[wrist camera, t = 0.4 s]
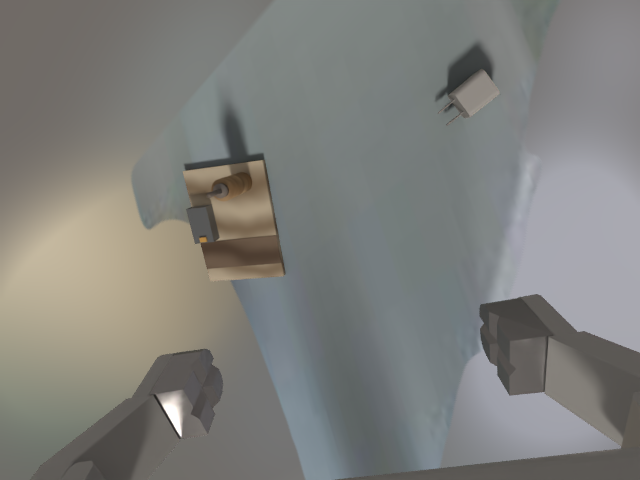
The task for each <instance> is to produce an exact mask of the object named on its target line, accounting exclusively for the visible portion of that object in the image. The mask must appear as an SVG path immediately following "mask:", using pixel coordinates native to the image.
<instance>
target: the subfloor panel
mask: <svg viewBox="0 0 640 480" xmlns="http://www.w3.org/2000/svg"><path fill="white" fill-rule="evenodd" d="M240 172H244V173H247V174H248V175H249V176H250V177H251V179H252V187H251V189H250V190H248V191H247V192H244V193H242V194H240V195H238V196H236V197H234V198H232V199H230V200H228V201H219V200H217V199H216V198H215V197H211V198H208V197H207V193H209V192H212V190H211V187H212V184H213V182H214V181H215V180H217V179H220V178H224V177H227V176H230V175H233V174H236V173H240ZM183 174H184V178H185V182H186V186H187V190H188V194H189V198H190V202H191V206H192V207H193V206H201V205H210V204H212V207H213V211H214V215H215V220H216V224H217V228H218V232H219V237H220V238H219V239H218V240H216V241H215V242H208V243H201V247H202V250H203V254H204V258H205V262H206V266H207V269H208V273H209V277H210V280H211V281H223V280H237V279H251V278H265V277H279V276H284V275H285V269H284V263H283V258H282V252H281V247H280V241H279V236H278V230H277V225H276V219H275V214H274V208H273V203H272V197H271V192H270V187H269V181H268V176H267V170H266V165H265V160H259V161H252V162H244V163H237V164H230V165H223V166H216V167H209V168H201V169H194V170H187V171H183Z"/></svg>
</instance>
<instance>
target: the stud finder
mask: <svg viewBox="0 0 640 480" xmlns="http://www.w3.org/2000/svg"><path fill="white" fill-rule="evenodd" d="M186 210H187V214H188V218H189V222H190V226H191V229H192V233H193V237H194V241H195V244H197V243H208V242H215V241H216V240H218V239H219V238H220V237H219V232H218V228H217V224H216V220H215V215H214V211H213V207H212V204H210V205H201V206H193V207H191V208H188V209H186Z"/></svg>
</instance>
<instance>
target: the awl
mask: <svg viewBox="0 0 640 480" xmlns="http://www.w3.org/2000/svg"><path fill="white" fill-rule="evenodd" d="M251 187H252V179H251V177H250V176H249V175H248V174H247V173H244V172H240V173H236V174H233V175H230V176H227V177H224V178H220V179H217V180H215V181H214V182H213V184H212V187H211V190H212V192H209V193H207V197H208V198H211V197H215V198H216V199H217V200H219V201H228V200H230V199H232V198H234V197H236V196H238V195H240V194H242V193H244V192H247V191H248V190H250V189H251Z"/></svg>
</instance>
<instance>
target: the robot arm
mask: <svg viewBox="0 0 640 480" xmlns="http://www.w3.org/2000/svg"><path fill="white" fill-rule="evenodd" d="M480 318H481V319H482V321H483V322H484V324H483V326H482V327H481V328H480V334H481V341H482V345H483V349H484V351H485V353H486V356H487V357H488V359H489V361H490V362H491V363H492V364H494V365H496V366H497V370H498V371H497V372H498V377H499V378H500V380H501V382H502V384H503V385H504V387H505V389H506V390H507V392H508V394H509V395H519V394H528V393H538V392H545V394H546V395H548V396H549V397H550V398H552V399H553V400H555V401H556V402H558V403H559V404H561V405H562V406H563V407H565V408H567V409H568V410H570V411H571V412H572V413H574V414H575V415H577V416H578V417H579V418H581V419H583V420H584V421H585V422H587V423H588V424H590V425H591V426H593V427H594V428H595V429H597V430H598V431H600V432H601V433H603V434H604V435H606V436H607V437H609V438H610V439H611V440H613V441H614V442H616V443H617V444H619V445H620V446H621V449H614V450H604V451H595V452H586V453H576V454H567V455H558V456H548V457H539V458H530V459H521V460H511V461H502V462H493V463H485V464H475V465H465V466H457V467H447V468H438V469H429V470H420V471H410V472H401V473H392V474H383V475H374V476H365V477H355V478H346V479H337V480H640V353H639V352H636V351H634V350H631V349H629V348H626V347H623V346H621V345H618V344H615V343H613V342H610V341H608V340H605V339H603V338H600V337H598V336H595V335H592V334H590V333H587V332H585V331H583V332H577V331H576V330H575V329H574V328H573V327H572V326H571V325H570V324H569V323H568V322H567V321H566V320H565V319H564V318H563V317H562V316H561V315H560V314H559V313H558V312H557V311H556V310H555V309H554V308H553V307H552V306H551V305H550V304H549V303H548V302H547V301H546V300H545V299H544V298H543V297H541V296H540V295H538V294H535V295H530V296H524V297H519V298H517V299H510V300H504V301H498V302H492V303H486V304H481V305H480ZM213 359H214V358H213V356H212V354H211V352H210V350H207V349H200V350H194V351H186V352H179V353H173V354H166V355H162V356H160V357H158V358H157V359H156V360H155V362H154V364H153V365H152V367H151V368H150V370H149V371H148V373H147V375H146V376H145V378H144V379H143V381H142V383H141V384H140V385H139V387H138V389H137V390H136V392H135V393H134V395H133V397H132V398H129V399H126V400H125V401H123V402H122V403H121V404H119V405H118V406H117V407H115V408H114V409H113V410H112V411H110V412H109V413H108V414H106V415H105V416H104V417H103V418H101V419H100V420H99V421H98V422H96V423H95V424H94V425H92V426H91V427H90V428H88V429H87V430H86V431H85V432H83V433H82V434H81V435H79V436H78V437H77V438H76V439H74V440H73V441H72V442H70V443H69V444H68V445H67V446H65V447H64V448H63V449H61V450H60V451H59V452H58V453H56V454H55V455H54V456H53V457H51V458H50V459H49V460H47V461H46V462H45V463H43V464H42V465H41V466H40V467H39V469H38V470H37V471H36V473H35V474H34V475H33V476H32V478H31V479H30V480H148V479H149V477H150V476H151V475H152V474H153V472H154V471H155V470H156V469H157V468H158V467H159V466H160V464H161V463H162V462H163V461H164V460H165V458H166V457H167V456H168V455H169V454H170V452H171V451H172V450H173V449H174V448H175V446H176V445H177V444H178V443H179V442H180V439H184V438H191V437H197V436H203V435H207V434H208V432H209V430H210V427H211V424H212V421H213V418H214V416H215V413H214V411H213V407H214V406H215V405H216V404H217V403H218V402H219V401H220V398H221V395H222V389H223V380H222V375H221V373H220V371H219V369H218V368H216V367H215V366H213V365H212V362H213Z"/></svg>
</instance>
